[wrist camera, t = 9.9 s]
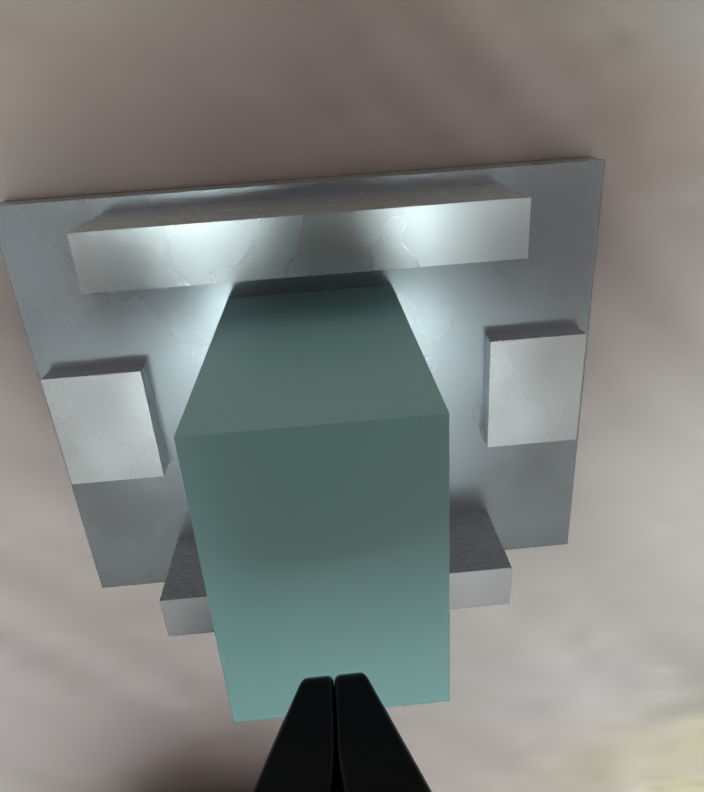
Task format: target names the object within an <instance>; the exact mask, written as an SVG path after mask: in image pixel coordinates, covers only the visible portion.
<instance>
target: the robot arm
mask: <svg viewBox="0 0 704 792" xmlns="http://www.w3.org/2000/svg"><path fill="white" fill-rule="evenodd" d="M252 792H432V791H431V789H430V788H429V786H428V784H427V782H426V780H425V779H424V777H423V775H422V773H421V772H420V770H419V768H418V766H417V764H416V763H415V761H414V759H413V757H412V756H411V754H410V752H409V750H408V748H407V747H406V745H405V743H404V741H403V739H402V738H401V736H400V734H399V732H398V731H397V729H396V727H395V725H394V723H393V722H392V720H391V718H390V716H389V714H388V713H387V711H386V709H385V707H384V706H383V704H382V702H381V700H380V698H379V697H378V695H377V693H376V691H375V689H374V688H373V686H372V684H371V682H370V681H369V679H368V677H367V676H366V675H365V674H364V673H361V672H359V673H349V674H340V675H337V676H336V677H335V681H334V680H333V678H332V677H330V676H319V677H309V678H305V679H303V680H302V682H301V683H300V685H299V687H298V689H297V691H296V694H295V696H294V698H293V700H292V703H291V705H290V707H289V709H288V712H287V714H286V716H285V718H284V721H283V723H282V725H281V727H280V730H279V732H278V734H277V736H276V739H275V741H274V743H273V745H272V747H271V750H270V752H269V754H268V756H267V759H266V761H265V763H264V765H263V768H262V770H261V772H260V774H259V777H258V779H257V781H256V783H255V786H254V788H253V790H252Z"/></svg>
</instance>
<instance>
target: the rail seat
mask: <svg viewBox="0 0 704 792" xmlns="http://www.w3.org/2000/svg"><path fill="white" fill-rule="evenodd" d="M604 164H605V160H603V159H599V158H594V157H582V158H569V159H556V160H543V161H530V162H516V163H503V164H490V165H477V166H464V167H451V168H438V169H425V170H411V171H398V172H385V173H372V174H359V175H346V176H333V177H320V178H306V179H293V180H280V181H267V182H254V183H241V184H228V185H214V186H201V187H188V188H175V189H162V190H149V191H136V192H123V193H109V194H96V195H83V196H70V197H57V198H44V199H31V200H18V201H4V202H1V203H0V248H1V251H2V255H3V258H4V261H5V265H6V268H7V271H8V275H9V278H10V281H11V285H12V288H13V291H14V295H15V298H16V301H17V305H18V308H19V311H20V315H21V318H22V321H23V325H24V328H25V331H26V335H27V338H28V341H29V345H30V348H31V351H32V355H33V358H34V361H35V365H36V368H37V371H38V375H39V378H40V381H41V385H42V388H43V391H44V395H45V398H46V401H47V405H48V408H49V411H50V415H51V418H52V421H53V425H54V428H55V431H56V435H57V438H58V441H59V445H60V448H61V451H62V455H63V458H64V461H65V465H66V468H67V471H68V475H69V478H70V481H71V485H72V488H73V491H74V495H75V498H76V501H77V505H78V508H79V511H80V515H81V518H82V521H83V525H84V528H85V531H86V535H87V538H88V541H89V545H90V548H91V551H92V555H93V558H94V561H95V565H96V568H97V571H98V575H99V578H100V581H101V585H102V588H105V587H115V586H126V585H136V584H147V583H158V582H165V585H164V588H163V591H162V595H161V598H160V604H161V608H162V612H163V616H164V620H165V624H166V628H167V632H168V636H177V635H187V634H198V633H208V632H215V631H214V626H213V622H212V617H211V612H210V607H209V603H208V598H207V593H206V588H205V584H204V579H203V574H202V569H201V565H200V560H199V555H198V550H197V546H196V541H195V536H194V531H193V527H192V522H191V517H190V513H189V508H188V503H187V498H186V494H185V489H184V484H183V479H182V475H181V470H180V465H179V460H178V456H177V451H176V446H175V441H174V435H175V433H176V430H177V428H178V425H179V423H180V420H181V417H182V415H183V412H184V410H185V407H186V405H187V402H188V400H189V397H190V394H191V392H192V389H193V387H194V384H195V382H196V379H197V377H198V374H199V371H200V369H201V366H202V364H203V361H204V359H205V356H206V353H207V351H208V348H209V346H210V343H211V341H212V338H213V336H214V333H215V330H216V328H217V325H218V323H219V320H220V318H221V315H222V313H223V310H224V307H225V305H226V302H227V300H228V298H238V297H250V296H262V295H275V294H287V293H299V292H312V291H324V290H336V289H348V288H361V287H373V286H385V285H392V286H393V288H394V291H395V293H396V295H397V297H398V300H399V302H400V304H401V306H402V309H403V311H404V313H405V315H406V317H407V320H408V322H409V324H410V326H411V329H412V331H413V333H414V335H415V338H416V340H417V342H418V344H419V346H420V349H421V351H422V353H423V355H424V358H425V360H426V362H427V364H428V367H429V369H430V371H431V373H432V375H433V378H434V380H435V382H436V384H437V387H438V389H439V391H440V393H441V396H442V398H443V400H444V402H445V405H446V407H447V409H448V411H449V609H456V608H467V607H477V606H487V605H498V604H508V603H510V589H511V570H512V567H511V565H510V563H509V560H508V558H507V556H506V554H505V551H504V550H508V549H519V548H530V547H540V546H551V545H561V544H567V541H568V531H569V521H570V511H571V501H572V490H573V480H574V470H575V460H576V450H577V439H578V429H579V419H580V409H581V399H582V388H583V378H584V368H585V358H586V348H587V337H588V327H589V317H590V307H591V297H592V286H593V276H594V266H595V256H596V245H597V235H598V225H599V215H600V205H601V194H602V184H603V174H604Z"/></svg>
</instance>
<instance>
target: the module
mask: <svg viewBox="0 0 704 792" xmlns="http://www.w3.org/2000/svg"><path fill="white" fill-rule="evenodd" d="M174 441H175V446H176V451H177V456H178V460H179V465H180V470H181V475H182V479H183V484H184V489H185V494H186V498H187V503H188V508H189V513H190V517H191V522H192V527H193V531H194V536H195V541H196V546H197V550H198V555H199V560H200V565H201V569H202V574H203V579H204V584H205V588H206V593H207V598H208V603H209V607H210V612H211V617H212V622H213V626H214V631H215V636H216V641H217V645H218V650H219V655H220V659H221V664H222V669H223V674H224V678H225V683H226V688H227V693H228V697H229V702H230V707H231V712H232V716H233V721H234V723H235V722H245V721H255V720H265V719H275V718H285V716H286V714H287V712H288V709H289V707H290V705H291V703H292V700H293V698H294V696H295V694H296V691H297V689H298V687H299V685H300V683H301V682H302V680H303V679H305V678H309V677H319V676H330V677H332V678H333V680H334V681H335V677H336V676H337V675H340V674H349V673H359V672H361V673H364V674H365V675H366V676H367V677H368V679H369V681H370V682H371V684H372V686H373V688H374V689H375V691H376V693H377V695H378V697H379V698H380V700H381V702H382V704H383V706H384V707H394V706H404V705H414V704H424V703H433V702H443V701H449V411H448V409H447V407H446V405H445V402H444V400H443V398H442V396H441V393H440V391H439V389H438V387H437V384H436V382H435V380H434V378H433V375H432V373H431V371H430V369H429V367H428V364H427V362H426V360H425V358H424V355H423V353H422V351H421V349H420V346H419V344H418V342H417V340H416V338H415V335H414V333H413V331H412V329H411V326H410V324H409V322H408V320H407V317H406V315H405V313H404V311H403V309H402V306H401V304H400V302H399V300H398V297H397V295H396V293H395V291H394V288H393V286H392V285H385V286H373V287H361V288H348V289H336V290H324V291H312V292H299V293H287V294H275V295H262V296H250V297H238V298H228V300H227V302H226V305H225V307H224V310H223V313H222V315H221V318H220V320H219V323H218V325H217V328H216V330H215V333H214V336H213V338H212V341H211V343H210V346H209V348H208V351H207V353H206V356H205V359H204V361H203V364H202V366H201V369H200V371H199V374H198V377H197V379H196V382H195V384H194V387H193V389H192V392H191V394H190V397H189V400H188V402H187V405H186V407H185V410H184V412H183V415H182V417H181V420H180V423H179V425H178V428H177V430H176V433H175V435H174Z"/></svg>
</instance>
